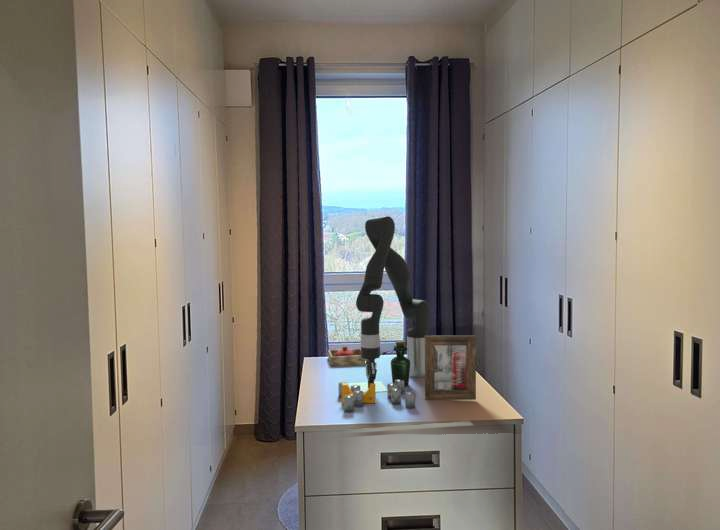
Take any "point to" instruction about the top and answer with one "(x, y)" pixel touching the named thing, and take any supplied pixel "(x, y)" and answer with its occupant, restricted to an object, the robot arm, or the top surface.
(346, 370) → the top surface
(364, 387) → the pad
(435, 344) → the picture frame
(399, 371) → the potion bottle
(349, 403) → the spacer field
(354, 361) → the frame
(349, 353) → the butter dish
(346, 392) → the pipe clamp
